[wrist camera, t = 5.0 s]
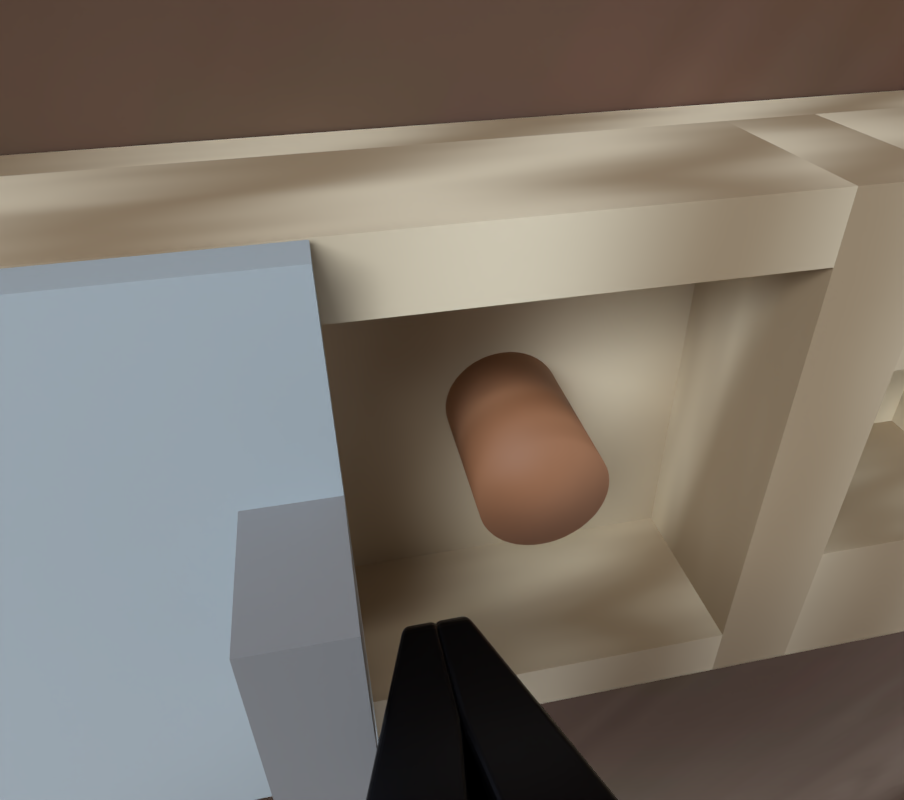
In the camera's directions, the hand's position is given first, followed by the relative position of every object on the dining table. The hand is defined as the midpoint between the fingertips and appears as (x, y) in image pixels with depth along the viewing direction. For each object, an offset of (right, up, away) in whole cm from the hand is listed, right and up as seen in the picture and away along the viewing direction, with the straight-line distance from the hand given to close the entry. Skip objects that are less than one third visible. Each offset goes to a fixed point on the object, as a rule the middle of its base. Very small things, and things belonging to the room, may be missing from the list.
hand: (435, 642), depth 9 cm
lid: (-5, 0, +1) cm, 5 cm away
